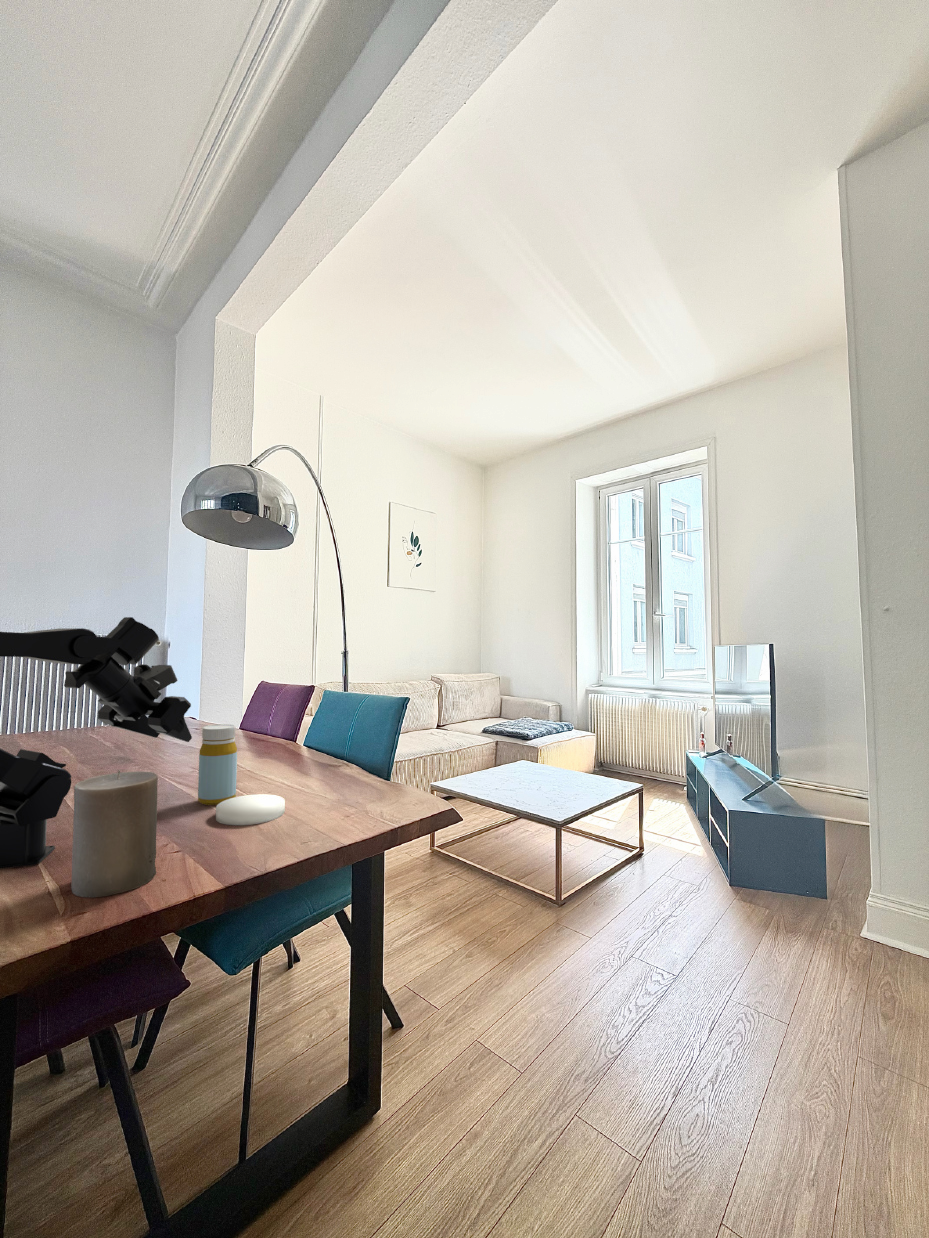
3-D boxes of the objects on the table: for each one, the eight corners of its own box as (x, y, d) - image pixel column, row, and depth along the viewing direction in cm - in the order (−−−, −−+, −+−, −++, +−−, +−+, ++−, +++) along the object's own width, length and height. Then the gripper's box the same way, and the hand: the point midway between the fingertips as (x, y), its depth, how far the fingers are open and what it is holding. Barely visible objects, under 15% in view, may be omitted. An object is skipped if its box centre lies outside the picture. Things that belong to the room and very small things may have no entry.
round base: (284, 821, 96) (284, 810, 96) (211, 828, 92) (212, 816, 92) (284, 802, 107) (284, 792, 107) (219, 807, 103) (219, 797, 103)
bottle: (242, 796, 111) (244, 724, 111) (223, 806, 104) (226, 730, 104) (210, 795, 111) (212, 723, 112) (190, 805, 104) (192, 729, 105)
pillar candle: (172, 870, 75) (175, 764, 76) (109, 903, 65) (113, 780, 66) (118, 863, 77) (121, 760, 78) (50, 893, 68) (54, 775, 69)
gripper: (181, 651, 92) (233, 706, 101) (115, 649, 100) (169, 701, 109) (135, 702, 84) (196, 756, 94) (68, 696, 92) (131, 746, 102)
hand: (173, 737), depth 100 cm, fingers open, 9 cm apart
